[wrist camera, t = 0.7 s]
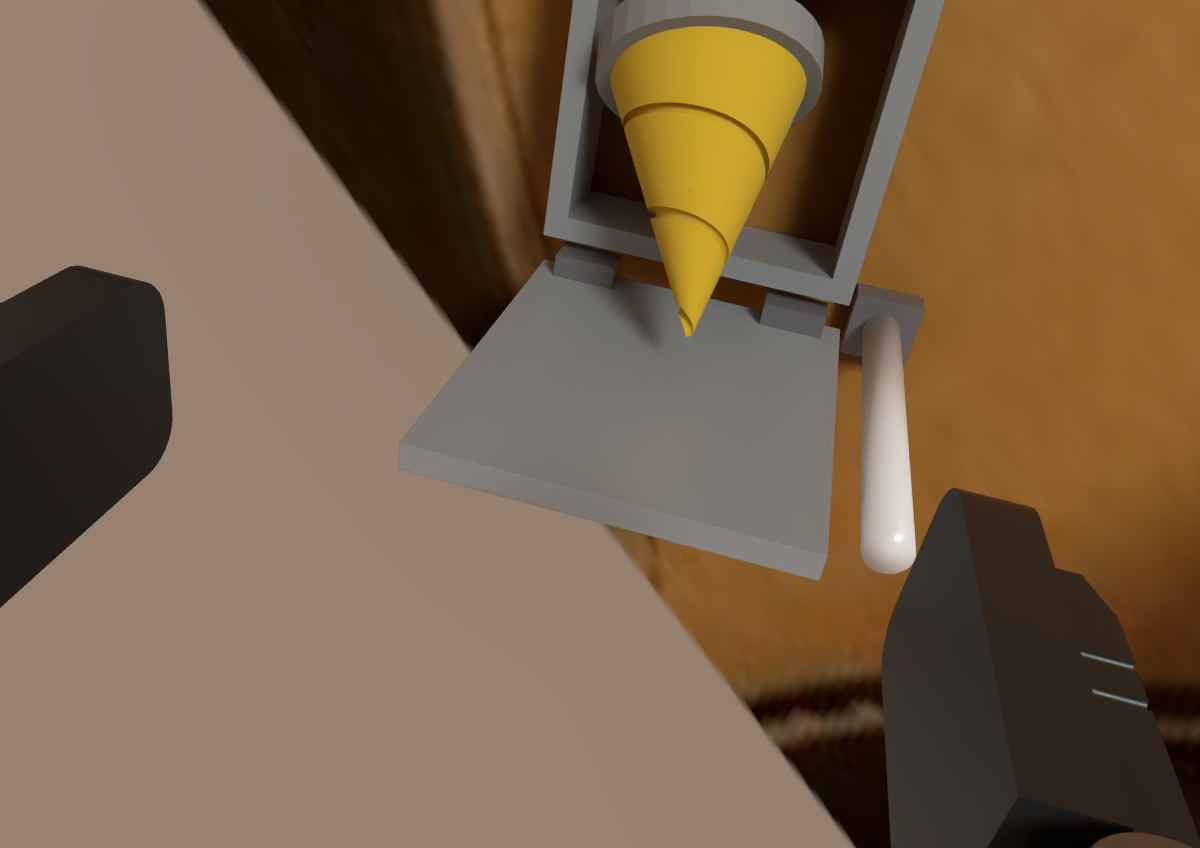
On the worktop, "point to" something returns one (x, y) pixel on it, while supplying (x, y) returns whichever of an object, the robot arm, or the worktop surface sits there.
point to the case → (690, 364)
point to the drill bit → (706, 117)
